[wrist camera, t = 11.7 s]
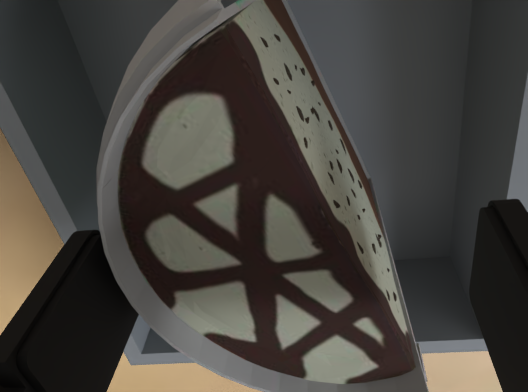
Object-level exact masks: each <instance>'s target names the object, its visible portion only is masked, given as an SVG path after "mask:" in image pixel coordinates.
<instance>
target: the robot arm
mask: <svg viewBox="0 0 528 392" xmlns="http://www.w3.org/2000/svg"><path fill="white" fill-rule="evenodd" d="M469 296H470V302H471V305H472V308H473V311H474V313H475V316H476V319H477V322H478V324H479V327H480V330H481V333H482V335H483V338H484V341H485V344H486V346H487V349H488V352H489V355H490V357H491V360H492V363H493V366H494V368H495V371H496V374H497V377H498V379H499V382H500V385H501V388H502V390H503V392H528V212H527V210H526V209H525V207H524V206H523V204H522V203H521V201H520V200H519V199H505V200H491V201H489V203H488V206H487V207H482V208H480V211H479V217H478V224H477V232H476V240H475V247H474V255H473V263H472V271H471V278H470V286H469ZM138 315H139V314H138V312H137V311H136V310H135V309H134V308H133V307H132V305H131V304H130V302H129V301H128V299H127V298H126V296H125V294H124V293H123V291H122V289H121V288H120V286H119V285H118V283H117V281H116V280H115V277H114V275H113V272H112V270H111V267H110V265H109V262H108V260H107V258H106V255H105V253H104V248H103V243H102V238H101V234H100V231H98V230H83V231H76V232H74V233H73V234H72V235H71V236H70V238H69V239H68V240H67V242H66V243H65V245H64V246H63V247H62V249H61V250H60V252H59V253H58V255H57V256H56V257H55V259H54V260H53V262H52V263H51V264H50V266H49V267H48V269H47V270H46V272H45V273H44V274H43V276H42V277H41V279H40V280H39V281H38V283H37V284H36V286H35V287H34V288H33V290H32V291H31V293H30V294H29V296H28V297H27V298H26V300H25V301H24V303H23V304H22V305H21V307H20V308H19V310H18V311H17V313H16V314H15V315H14V317H13V318H12V320H11V321H10V322H9V324H8V325H7V327H6V328H5V330H4V331H3V332H2V334H1V335H0V392H107V389H108V387H109V385H110V382H111V380H112V377H113V375H114V373H115V370H116V368H117V365H118V363H119V361H120V358H121V356H122V353H123V351H124V349H125V346H126V344H127V342H128V339H129V337H130V334H131V332H132V330H133V327H134V325H135V322H136V320H137V318H138Z"/></svg>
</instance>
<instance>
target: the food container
mask: <svg viewBox="0 0 528 392" xmlns="http://www.w3.org/2000/svg"><path fill="white" fill-rule="evenodd" d="M96 183H97V207H98V224H99V229H100V234H101V238H102V243H103V248H104V253H105V255H106V258H107V260H108V262H109V265H110V267H111V270H112V272H113V275H114V277H115V280H116V281H117V283H118V285H119V286H120V288H121V289H122V291H123V293H124V294H125V296H126V298H127V299H128V301H129V302H130V304H131V305H132V307H133V308H134V309H135V310H136V311H137V312H138V314H139V315H140V316H141V317H142V318H143V319H144V321H145V322H146V323H147V324H148V325H149V326H150V328H152V329H153V330H154V331H155V332H156V333H157V334H158V335H160V336H161V337H162V338H163V339H164V340H165V341H166V342H167V343H169V344H170V345H171V346H172V347H173V348H175V349H176V350H178V351H179V352H181V353H182V354H184V355H185V356H187V357H188V358H190V359H191V360H192V361H194V362H195V363H197V364H199V365H201V366H203V367H205V368H207V369H209V370H210V371H212V372H214V373H216V374H218V375H220V376H222V377H224V378H227V379H229V380H232V381H234V382H237V383H239V384H242V385H244V386H247V387H250V388H253V389H257V390H260V391H263V392H429V391H428V387H427V383H426V382H427V377H426V372H425V368H424V363H423V358H422V354H421V349H420V346H419V343H416V342H415V338H414V334H413V331H412V327H411V323H410V320H409V316H408V312H407V308H406V305H405V301H404V297H403V294H402V290H401V286H400V282H399V279H398V275H397V271H396V268H395V264H394V260H393V256H392V253H391V249H390V245H389V242H388V238H387V234H386V230H385V227H384V223H383V219H382V216H381V212H380V208H379V205H378V201H377V197H376V193H375V190H374V186H373V182H372V179H371V177H370V175H369V172H368V170H367V168H366V166H365V164H364V162H363V160H362V158H361V156H360V153H359V151H358V149H357V147H356V145H355V143H354V141H353V139H352V137H351V134H350V132H349V130H348V128H347V126H346V124H345V122H344V120H343V118H342V115H341V113H340V111H339V109H338V107H337V105H336V103H335V101H334V99H333V96H332V94H331V92H330V90H329V88H328V86H327V84H326V82H325V80H324V77H323V75H322V73H321V71H320V69H319V67H318V65H317V63H316V61H315V58H314V56H313V54H312V52H311V50H310V48H309V46H308V44H307V42H306V39H305V37H304V35H303V33H302V31H301V29H300V27H299V25H298V23H297V20H296V18H295V16H294V14H293V12H292V10H291V8H290V6H289V4H288V1H287V0H238V1H237V2H235V3H233V4H231V5H230V6H228V7H226V8H224V7H223V5H222V3H221V0H178V1H177V2H176V3H175V4H174V5H173V7H172V8H171V9H170V10H169V11H168V12H167V13H166V14H165V15H164V16H163V17H162V18H161V19H160V21H159V22H158V23H157V24H156V25H155V26H154V27H153V28H152V29H151V30H150V32H149V34H148V35H147V37H146V38H145V40H144V41H143V43H142V45H141V46H140V48H139V49H138V51H137V52H136V54H135V56H134V57H133V59H132V60H131V62H130V64H129V65H128V67H127V70H126V72H125V75H124V77H123V80H122V82H121V85H120V87H119V90H118V92H117V95H116V97H115V100H114V102H113V105H112V108H111V111H110V114H109V117H108V120H107V123H106V126H105V129H104V132H103V137H102V142H101V147H100V152H99V157H98V163H97V168H96Z"/></svg>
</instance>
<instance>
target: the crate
mask: <svg viewBox="0 0 528 392" xmlns="http://www.w3.org/2000/svg"><path fill="white" fill-rule="evenodd" d="M177 1H178V0H0V128H1V130H2V132H3V134H4V135H5V137H6V139H7V141H8V143H9V145H10V146H11V148H12V150H13V152H14V154H15V155H16V157H17V159H18V161H19V163H20V165H21V166H22V168H23V170H24V172H25V174H26V175H27V177H28V179H29V181H30V183H31V185H32V186H33V188H34V190H35V192H36V194H37V195H38V197H39V199H40V201H41V203H42V205H43V206H44V208H45V210H46V212H47V214H48V215H49V217H50V219H51V221H52V223H53V225H54V226H55V228H56V230H57V232H58V234H59V235H60V237H61V239H62V241H63V243H64V245H65V243H66V242H67V240H68V239H69V238H70V236H71V235H72V234H73V233H74V232H76V231H83V230H98V231H100V229H99V224H98V207H97V183H96V168H97V163H98V157H99V152H100V147H101V142H102V137H103V132H104V129H105V126H106V123H107V120H108V117H109V114H110V111H111V108H112V105H113V102H114V100H115V97H116V95H117V92H118V90H119V87H120V85H121V82H122V80H123V77H124V75H125V72H126V70H127V67H128V65H129V64H130V62H131V60H132V59H133V57H134V56H135V54H136V52H137V51H138V49H139V48H140V46H141V45H142V43H143V41H144V40H145V38H146V37H147V35H148V34H149V32H150V30H151V29H152V28H153V27H154V26H155V25H156V24H157V23H158V22H159V21H160V19H161V18H162V17H163V16H164V15H165V14H166V13H167V12H168V11H169V10H170V9H171V8H172V7H173V5H174V4H175V3H176V2H177ZM237 1H238V0H221V3H222V5H223V7H224V8H226V7H228V6H230V5H231V4H233V3H235V2H237ZM287 1H288V4H289V6H290V8H291V10H292V12H293V14H294V16H295V18H296V20H297V23H298V25H299V27H300V29H301V31H302V33H303V35H304V37H305V39H306V42H307V44H308V46H309V48H310V50H311V52H312V54H313V56H314V58H315V61H316V63H317V65H318V67H319V69H320V71H321V73H322V75H323V77H324V80H325V82H326V84H327V86H328V88H329V90H330V92H331V94H332V96H333V99H334V101H335V103H336V105H337V107H338V109H339V111H340V113H341V115H342V118H343V120H344V122H345V124H346V126H347V128H348V130H349V132H350V134H351V137H352V139H353V141H354V143H355V145H356V147H357V149H358V151H359V153H360V156H361V158H362V160H363V162H364V164H365V166H366V168H367V170H368V172H369V175H370V177H371V179H372V182H373V186H374V190H375V193H376V197H377V201H378V205H379V208H380V212H381V216H382V219H383V223H384V227H385V230H386V234H387V238H388V242H389V245H390V249H391V253H392V256H393V260H394V264H395V268H396V271H397V275H398V279H399V282H400V286H401V290H402V294H403V297H404V301H405V305H406V308H407V312H408V316H409V320H410V323H411V327H412V331H413V334H414V338H415V342H416V343H419V346H420V349H421V353H446V352H471V351H488V349H487V346H486V344H485V341H484V338H483V335H482V333H481V330H480V327H479V324H478V322H477V319H476V316H475V313H474V311H473V308H472V305H471V302H470V296H469V286H470V278H471V271H472V263H473V255H474V247H475V240H476V232H477V224H478V217H479V211H480V208H482V207H487V206H488V203H489V201H491V200H505V199H519V200H520V201H521V203H522V204H523V206H524V207H525V209H526V210H527V212H528V0H287ZM123 352H124V354H125V355H126V357H127V359H128V361H129V363H130V364H131V365H147V364H172V363H195V362H194V361H192V360H191V359H190V358H188V357H187V356H185V355H184V354H182V353H181V352H179V351H178V350H176V349H175V348H173V347H172V346H171V345H170V344H169V343H167V342H166V341H165V340H164V339H163V338H162V337H161V336H160V335H158V334H157V333H156V332H155V331H154V330H153V329H152V328H150V326H149V325H148V324H147V323H146V322H145V321H144V319H143V318H142V317H141V316H140V315H138V318H137V320H136V322H135V325H134V327H133V330H132V332H131V334H130V337H129V339H128V342H127V344H126V346H125V349H124V351H123Z"/></svg>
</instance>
